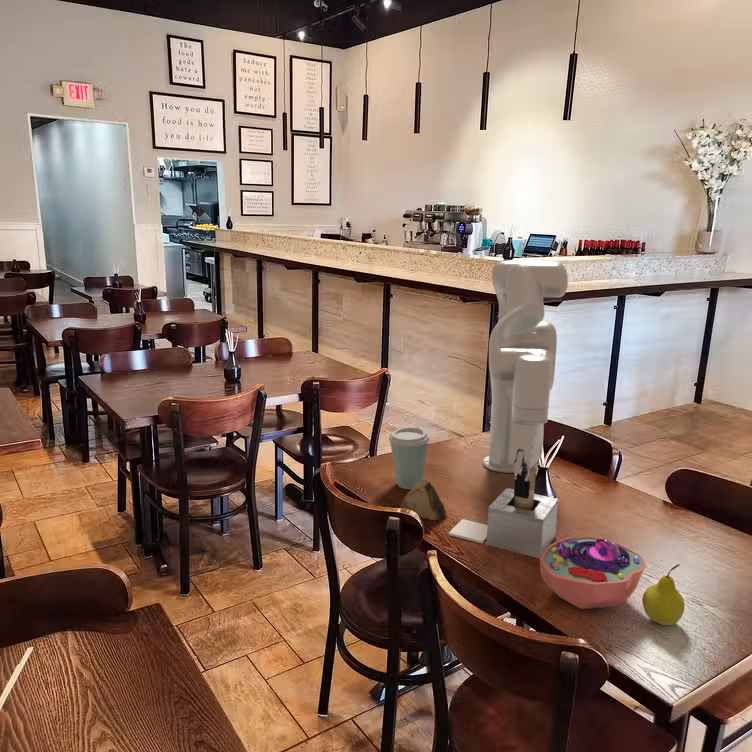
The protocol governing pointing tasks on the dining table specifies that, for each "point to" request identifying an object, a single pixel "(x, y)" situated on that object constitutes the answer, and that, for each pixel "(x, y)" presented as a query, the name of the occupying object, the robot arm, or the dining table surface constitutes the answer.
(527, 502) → the beige segmented cylinder
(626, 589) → the cell model
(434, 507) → the rock
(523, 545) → the grey square box
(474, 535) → the mat
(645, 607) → the fruit
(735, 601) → the dining table surface
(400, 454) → the disposable coffee cup
